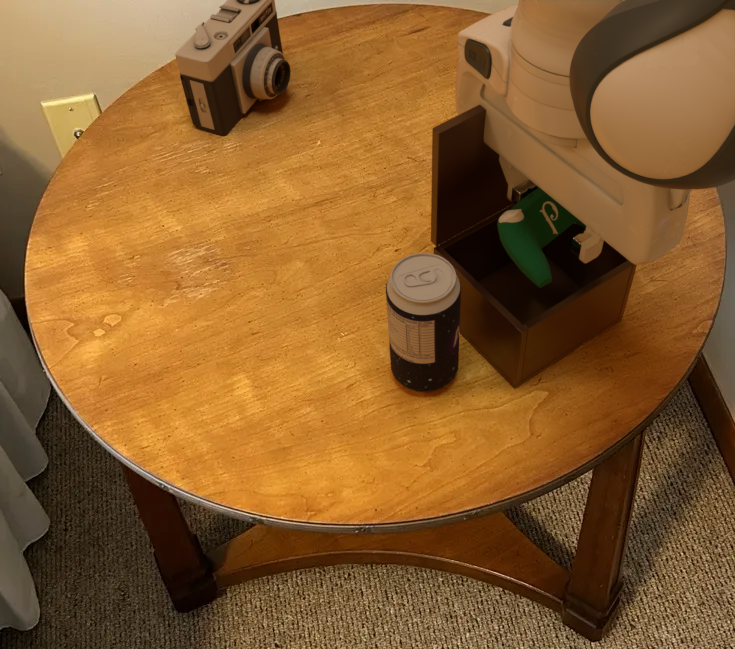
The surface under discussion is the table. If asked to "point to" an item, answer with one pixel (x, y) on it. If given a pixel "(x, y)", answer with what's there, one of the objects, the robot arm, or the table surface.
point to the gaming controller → (533, 233)
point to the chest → (533, 299)
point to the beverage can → (423, 321)
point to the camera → (232, 64)
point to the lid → (464, 176)
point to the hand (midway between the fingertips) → (551, 226)
